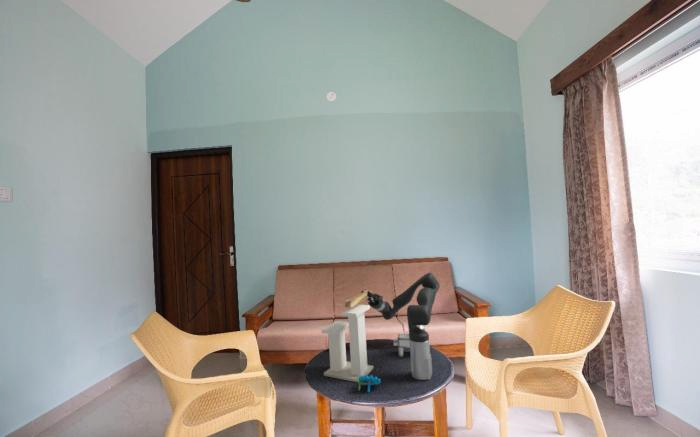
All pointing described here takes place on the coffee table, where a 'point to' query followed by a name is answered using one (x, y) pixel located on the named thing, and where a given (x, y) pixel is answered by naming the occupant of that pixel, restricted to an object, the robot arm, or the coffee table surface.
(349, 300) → the wooden slat
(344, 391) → the coffee table surface
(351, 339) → the two-step rack
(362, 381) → the blue legged figure
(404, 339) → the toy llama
